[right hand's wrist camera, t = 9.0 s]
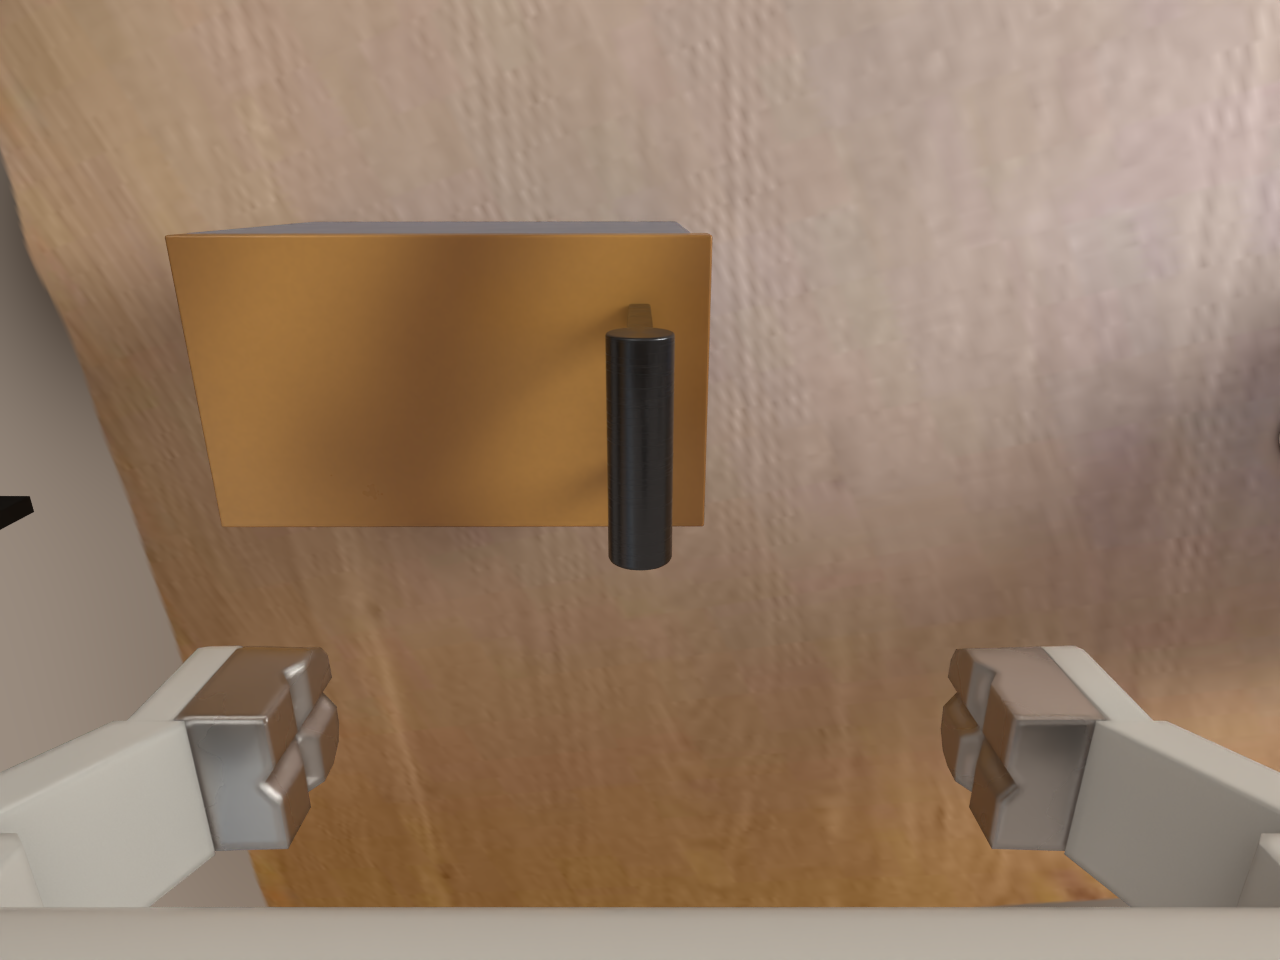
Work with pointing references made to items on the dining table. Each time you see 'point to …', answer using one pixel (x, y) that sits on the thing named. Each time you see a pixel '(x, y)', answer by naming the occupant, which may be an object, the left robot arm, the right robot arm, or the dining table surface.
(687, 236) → the door
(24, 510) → the left robot arm
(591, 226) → the chest
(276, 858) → the dining table surface
